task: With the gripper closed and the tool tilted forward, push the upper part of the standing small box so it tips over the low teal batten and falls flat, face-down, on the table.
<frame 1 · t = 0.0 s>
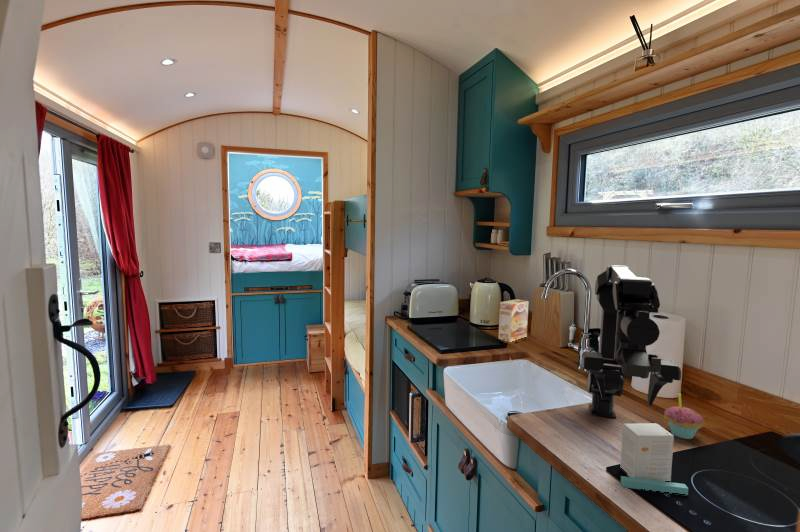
hand: (625, 402, 91), 15 cm above the worktop, tool pointing down, fingers open, 9 cm apart
small box: (644, 475, 88), on the worktop
cupcake: (681, 435, 107), on the worktop
teal batten: (653, 489, 83), on the worktop
coffeecake box: (512, 341, 195), on the worktop
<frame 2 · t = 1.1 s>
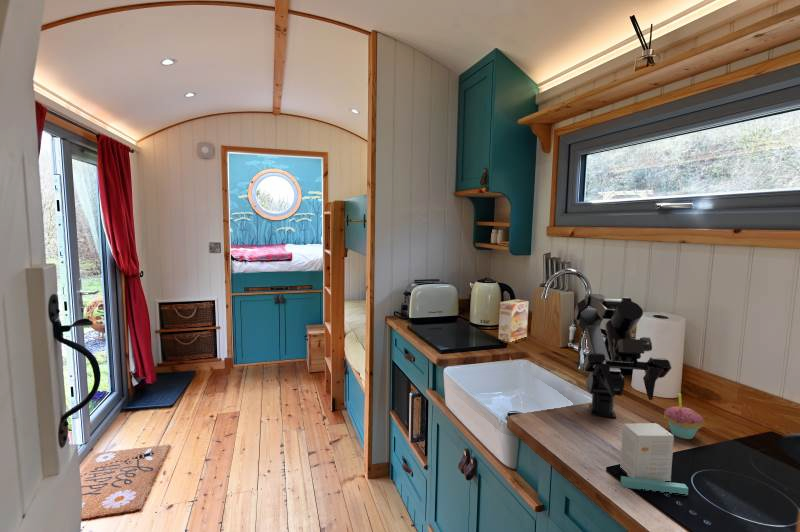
hand: (632, 398, 97), 13 cm above the worktop, tool tilted 45°, fingers open, 8 cm apart
nothing on the worktop moved.
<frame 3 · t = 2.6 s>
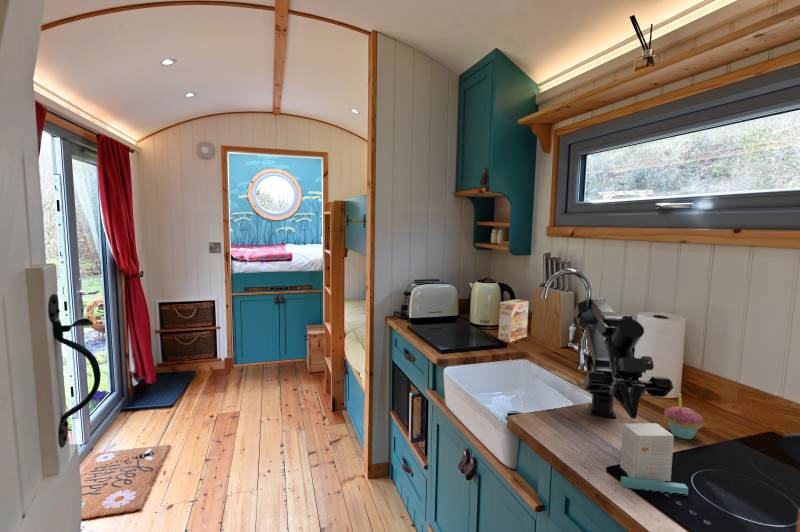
hand: (633, 418, 95), 9 cm above the worktop, tool tilted 45°, fingers closed
nothing on the worktop moved.
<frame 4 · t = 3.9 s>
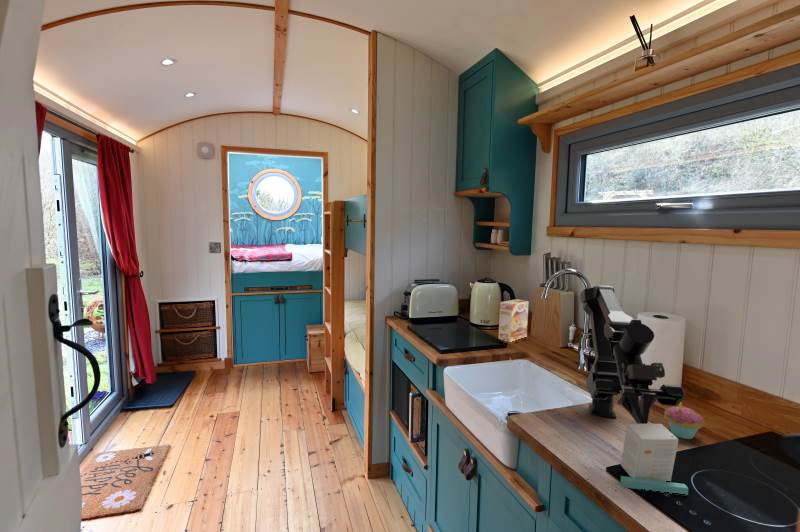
hand: (644, 429, 89), 9 cm above the worktop, tool tilted 45°, fingers closed
small box: (644, 474, 88), on the worktop, touching gripper
everything else where it was.
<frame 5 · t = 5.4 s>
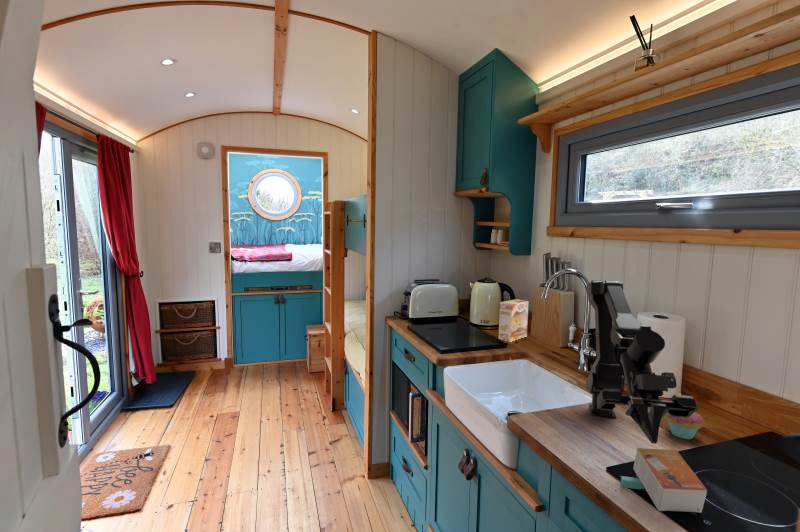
hand: (654, 443, 84), 9 cm above the worktop, tool tilted 45°, fingers closed
small box: (653, 458, 86), point 5 cm above the worktop, touching teal batten
everything else where it was.
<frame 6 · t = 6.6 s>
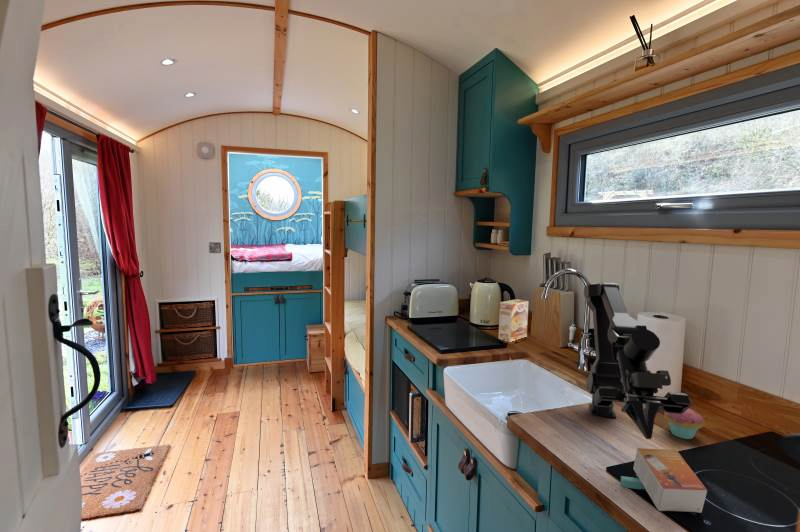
hand: (648, 438, 87), 9 cm above the worktop, tool tilted 45°, fingers closed
nothing on the worktop moved.
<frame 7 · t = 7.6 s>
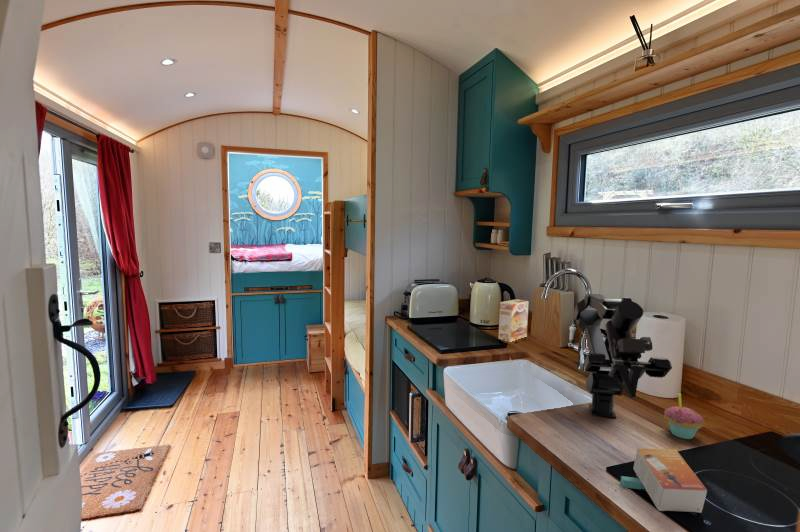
hand: (632, 398, 96), 13 cm above the worktop, tool tilted 45°, fingers closed
nothing on the worktop moved.
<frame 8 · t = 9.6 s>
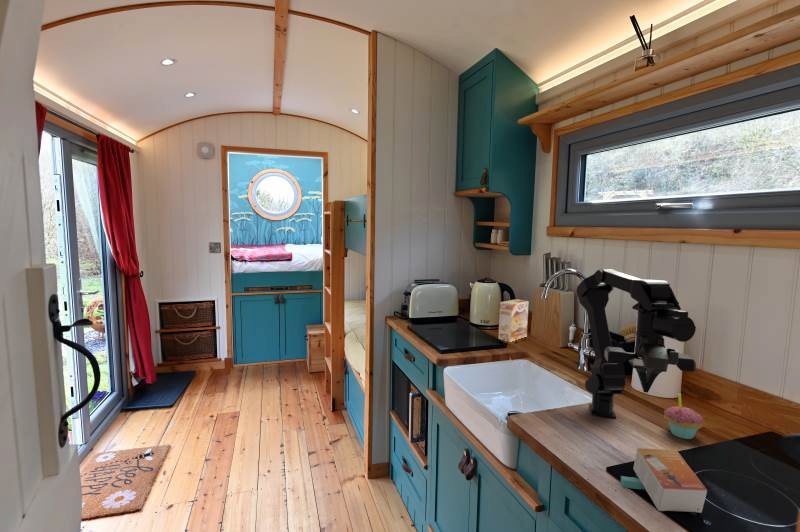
hand: (645, 391, 101), 13 cm above the worktop, tool pointing down, fingers closed
nothing on the worktop moved.
at the end: small box tilted 102°; small box inside the target area (6.0 cm from its centre), point 5.1 cm above the worktop; the gripper is holding nothing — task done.
